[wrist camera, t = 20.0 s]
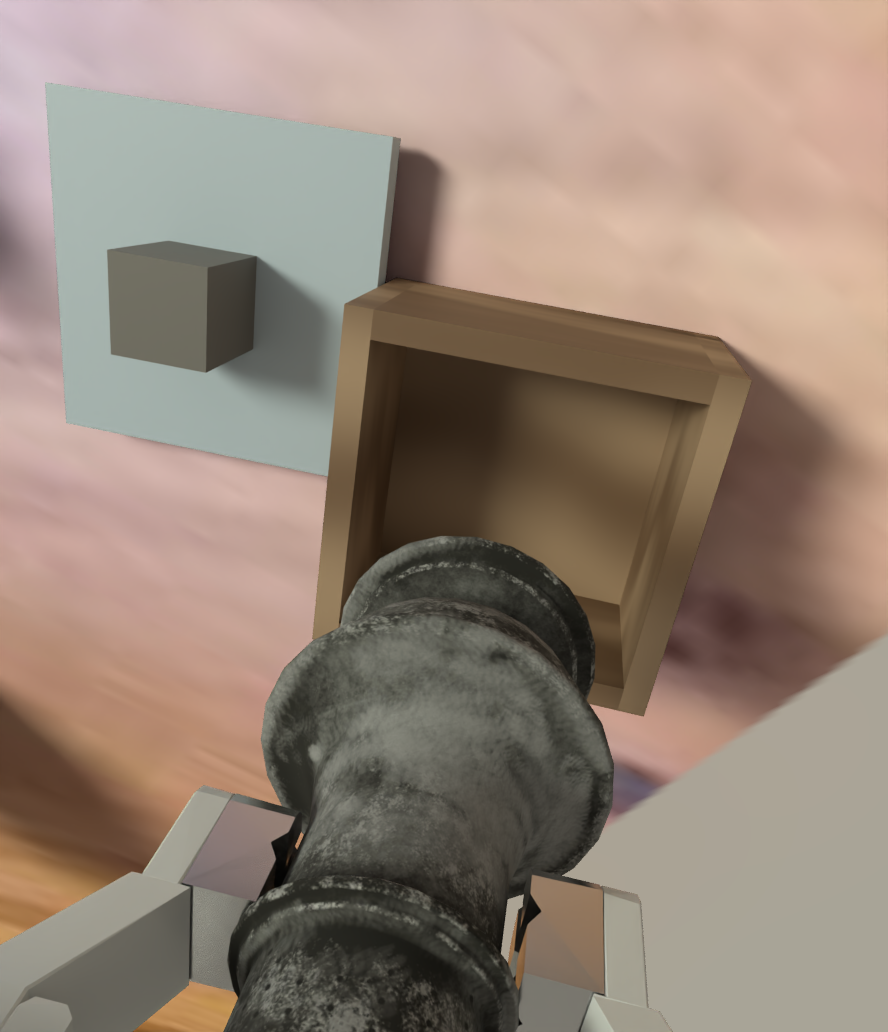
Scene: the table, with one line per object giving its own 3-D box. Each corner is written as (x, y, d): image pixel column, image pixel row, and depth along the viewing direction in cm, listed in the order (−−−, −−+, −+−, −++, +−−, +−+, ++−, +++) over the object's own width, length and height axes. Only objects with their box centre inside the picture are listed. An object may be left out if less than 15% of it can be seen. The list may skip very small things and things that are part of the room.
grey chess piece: (671, 687, 15) (840, 1882, 5) (448, 806, 18) (213, 1793, 7) (484, 462, 14) (128, 1351, 3) (271, 620, 17) (-347, 1457, 6)
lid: (371, 463, 29) (325, 522, 24) (97, 408, 30) (0, 453, 25) (407, 139, 25) (360, 130, 20) (83, 89, 26) (-39, 67, 21)
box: (634, 616, 29) (643, 716, 24) (363, 556, 30) (312, 638, 25) (718, 336, 25) (752, 380, 20) (397, 277, 26) (344, 303, 21)
